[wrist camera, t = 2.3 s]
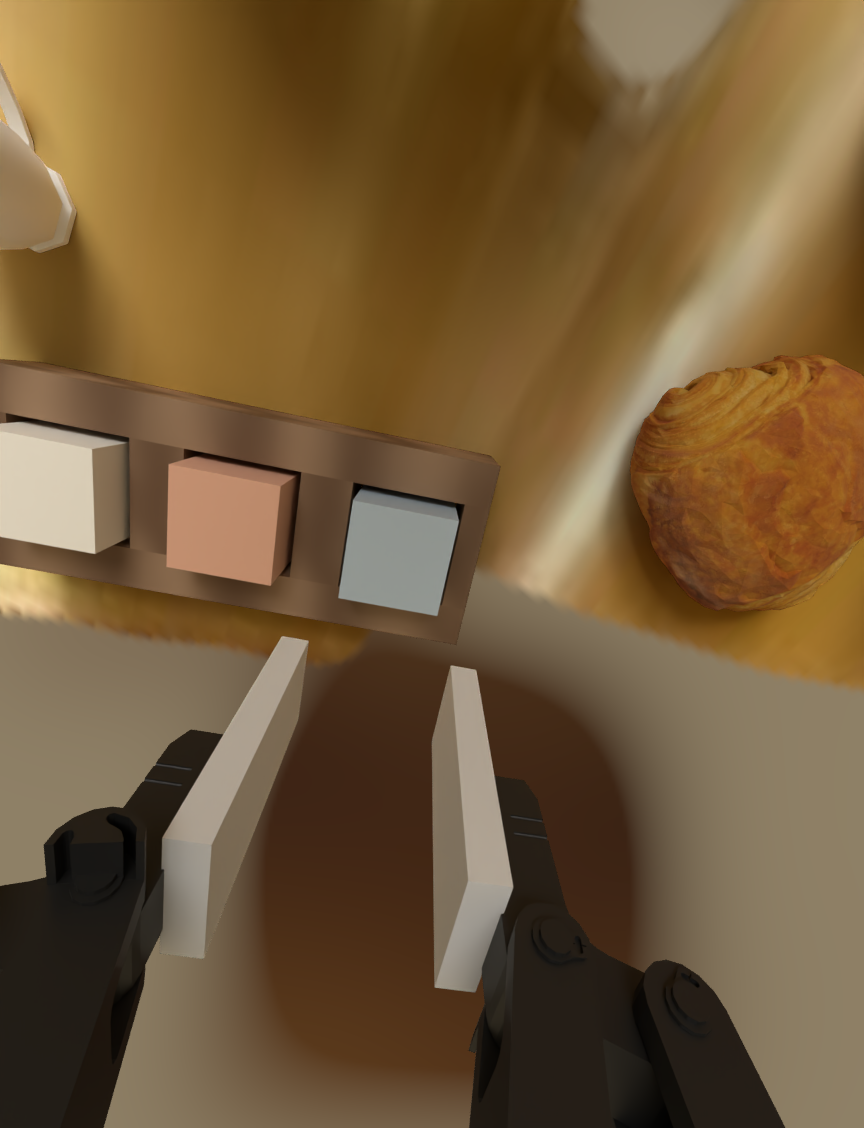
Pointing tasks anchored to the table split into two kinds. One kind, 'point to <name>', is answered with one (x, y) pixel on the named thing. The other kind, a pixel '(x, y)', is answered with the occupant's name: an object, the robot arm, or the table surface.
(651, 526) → the pastry
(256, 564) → the terracotta key
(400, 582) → the slate key
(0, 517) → the ivory key
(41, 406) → the key block
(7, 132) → the cup
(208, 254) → the table surface
